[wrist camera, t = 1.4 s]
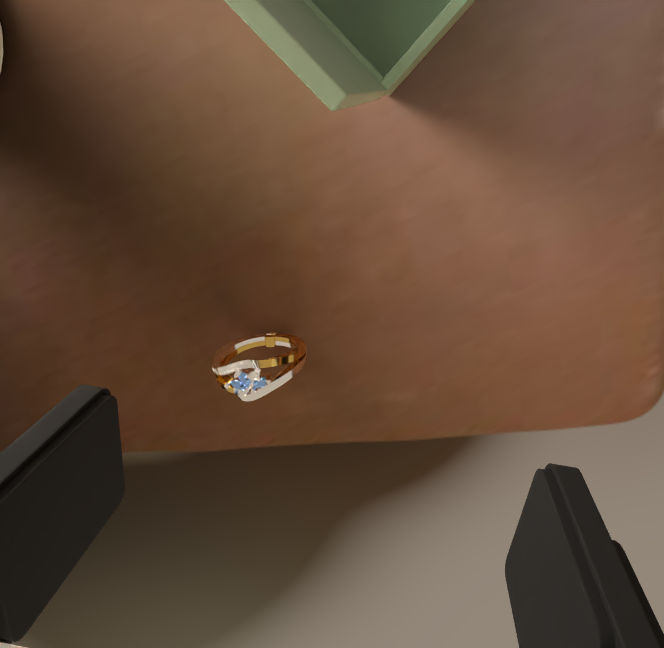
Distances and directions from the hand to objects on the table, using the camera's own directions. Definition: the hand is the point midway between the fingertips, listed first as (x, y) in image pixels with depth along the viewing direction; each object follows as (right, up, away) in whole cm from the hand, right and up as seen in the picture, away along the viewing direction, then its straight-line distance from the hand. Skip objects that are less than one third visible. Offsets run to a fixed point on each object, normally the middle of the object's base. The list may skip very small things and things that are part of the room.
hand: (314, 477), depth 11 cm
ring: (-4, +2, +30) cm, 31 cm away
